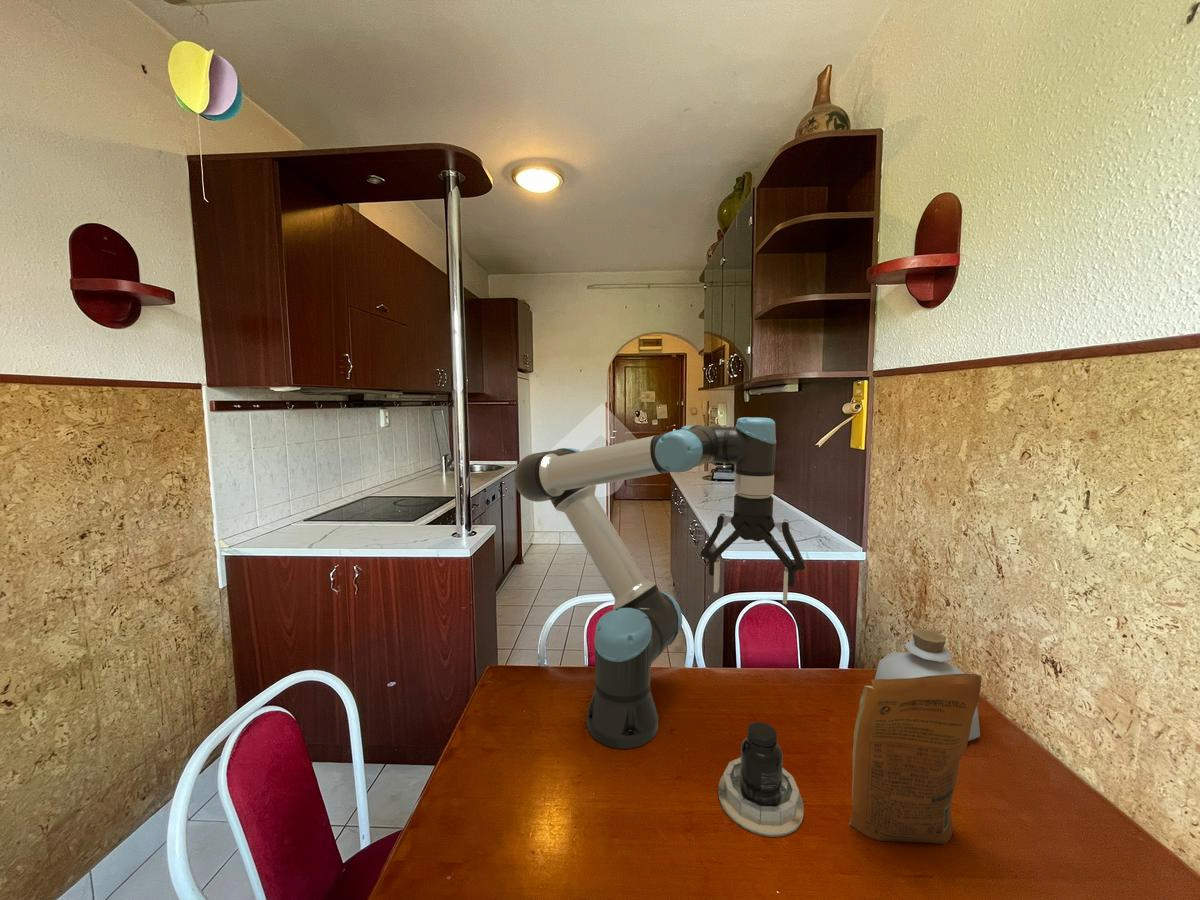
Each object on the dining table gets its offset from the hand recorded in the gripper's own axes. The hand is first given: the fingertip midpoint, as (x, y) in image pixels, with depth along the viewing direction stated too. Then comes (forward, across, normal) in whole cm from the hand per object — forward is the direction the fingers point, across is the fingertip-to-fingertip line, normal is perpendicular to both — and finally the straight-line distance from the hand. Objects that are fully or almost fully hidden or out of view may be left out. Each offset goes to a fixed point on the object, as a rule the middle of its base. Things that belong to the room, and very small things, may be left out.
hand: (749, 595), depth 101 cm
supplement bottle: (+28, -5, +19) cm, 34 cm away
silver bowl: (+29, -5, +19) cm, 35 cm away
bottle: (+29, -36, -18) cm, 49 cm away
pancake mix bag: (+29, -27, +17) cm, 43 cm away
